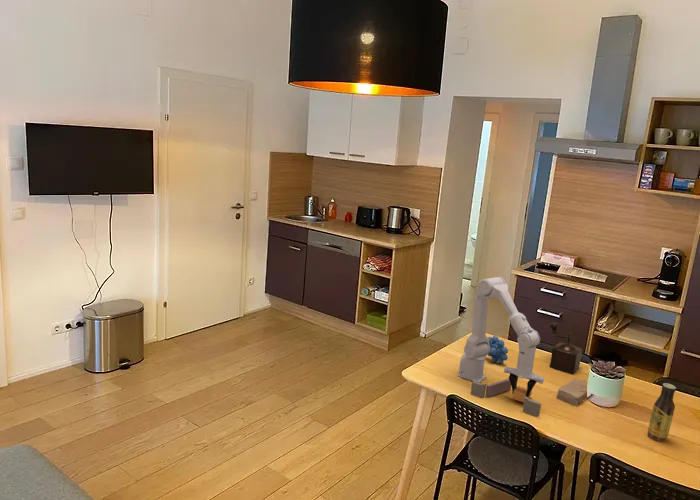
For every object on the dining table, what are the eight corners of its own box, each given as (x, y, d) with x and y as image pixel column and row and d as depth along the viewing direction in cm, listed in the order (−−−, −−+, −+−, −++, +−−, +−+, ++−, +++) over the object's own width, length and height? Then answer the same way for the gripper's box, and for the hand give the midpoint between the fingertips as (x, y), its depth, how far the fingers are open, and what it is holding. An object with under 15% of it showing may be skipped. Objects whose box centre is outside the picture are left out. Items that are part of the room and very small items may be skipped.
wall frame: (470, 394, 212) (472, 380, 211) (472, 392, 213) (473, 379, 212) (538, 416, 198) (540, 403, 197) (539, 415, 199) (541, 401, 198)
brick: (576, 407, 208) (578, 396, 207) (555, 398, 214) (557, 387, 213) (593, 395, 219) (595, 384, 218) (573, 387, 225) (575, 377, 224)
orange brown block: (512, 398, 208) (513, 390, 207) (519, 390, 215) (521, 382, 214) (524, 402, 205) (525, 394, 205) (531, 394, 213) (532, 386, 212)
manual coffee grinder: (580, 367, 245) (587, 329, 241) (572, 375, 236) (579, 336, 233) (546, 357, 254) (551, 320, 250) (537, 363, 246) (543, 326, 242)
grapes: (478, 359, 245) (481, 334, 243) (486, 356, 250) (489, 331, 247) (501, 369, 237) (504, 343, 235) (509, 365, 242) (512, 339, 239)
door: (487, 397, 210) (489, 386, 209) (483, 394, 211) (484, 384, 210) (510, 389, 218) (512, 379, 217) (506, 387, 219) (507, 377, 218)
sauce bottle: (643, 432, 192) (653, 380, 188) (659, 432, 193) (670, 380, 189) (654, 442, 186) (665, 389, 182) (671, 443, 187) (683, 389, 182)
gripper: (503, 359, 206) (498, 392, 209) (542, 371, 198) (536, 405, 201) (509, 354, 211) (504, 386, 214) (547, 365, 204) (542, 398, 206)
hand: (520, 395), depth 208 cm, fingers closed on orange brown block, 4 cm apart
